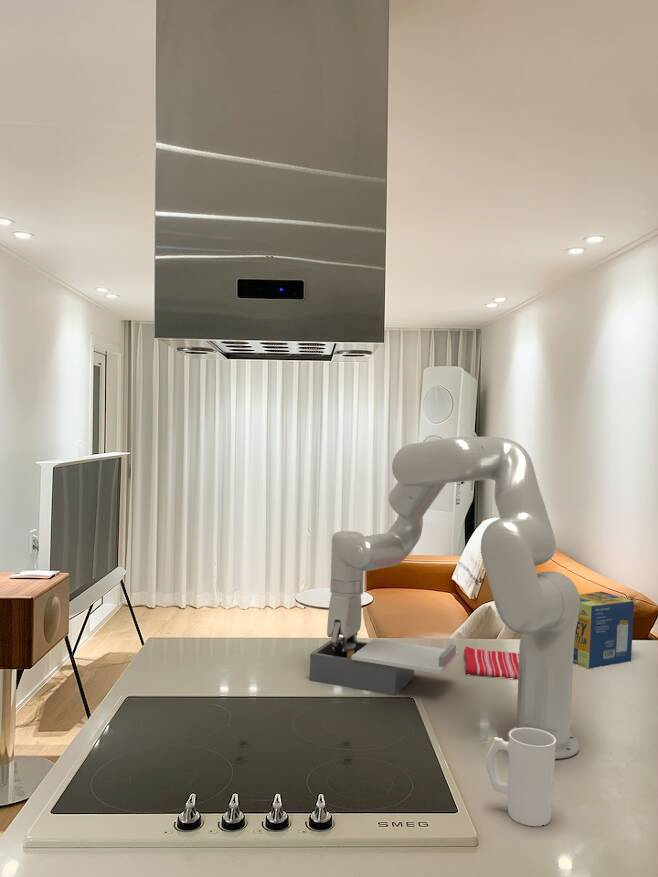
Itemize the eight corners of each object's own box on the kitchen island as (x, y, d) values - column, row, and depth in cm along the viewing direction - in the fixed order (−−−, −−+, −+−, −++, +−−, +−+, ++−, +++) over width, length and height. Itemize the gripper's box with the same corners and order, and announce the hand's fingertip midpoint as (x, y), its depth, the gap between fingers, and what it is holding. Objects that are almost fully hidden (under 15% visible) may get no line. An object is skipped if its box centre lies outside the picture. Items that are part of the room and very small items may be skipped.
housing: (394, 695, 162) (395, 667, 162) (309, 680, 170) (310, 653, 169) (413, 675, 175) (414, 649, 174) (333, 662, 182) (334, 637, 182)
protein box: (556, 656, 192) (558, 596, 192) (599, 649, 200) (602, 591, 199) (588, 669, 183) (590, 605, 183) (632, 661, 190) (635, 600, 190)
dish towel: (463, 655, 193) (464, 644, 193) (560, 663, 189) (560, 652, 189) (463, 677, 176) (463, 666, 176) (569, 687, 172) (569, 675, 172)
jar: (330, 667, 173) (330, 645, 172) (338, 661, 177) (338, 640, 177) (350, 671, 171) (351, 649, 170) (358, 664, 175) (359, 643, 175)
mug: (555, 810, 116) (558, 732, 115) (550, 832, 109) (553, 749, 109) (488, 796, 119) (491, 720, 119) (480, 816, 113) (483, 736, 113)
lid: (441, 674, 157) (441, 660, 157) (351, 659, 165) (351, 646, 165) (458, 654, 171) (458, 642, 171) (374, 641, 179) (374, 630, 179)
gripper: (345, 577, 183) (343, 652, 183) (316, 591, 167) (314, 673, 167) (374, 580, 180) (372, 657, 180) (348, 595, 164) (345, 679, 165)
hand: (344, 664), depth 174 cm, fingers closed on jar, 4 cm apart
